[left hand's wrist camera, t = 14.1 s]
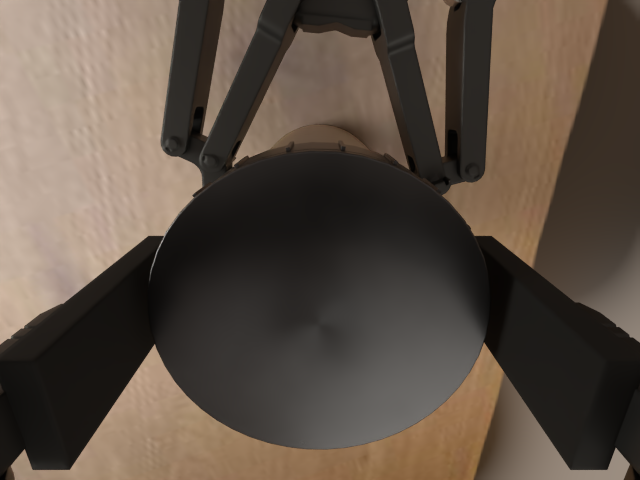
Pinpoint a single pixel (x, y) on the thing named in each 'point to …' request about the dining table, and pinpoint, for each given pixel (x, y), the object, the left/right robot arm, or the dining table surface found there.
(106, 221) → the dining table surface
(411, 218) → the lid
